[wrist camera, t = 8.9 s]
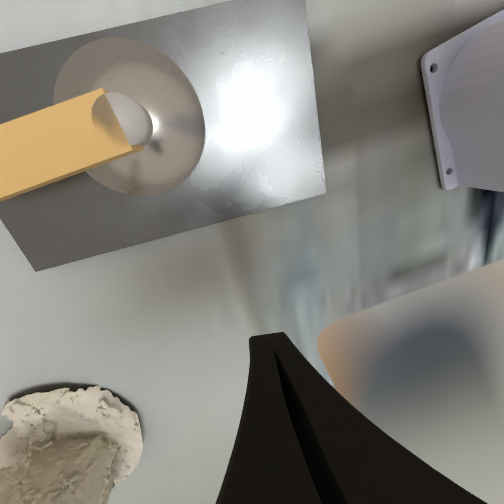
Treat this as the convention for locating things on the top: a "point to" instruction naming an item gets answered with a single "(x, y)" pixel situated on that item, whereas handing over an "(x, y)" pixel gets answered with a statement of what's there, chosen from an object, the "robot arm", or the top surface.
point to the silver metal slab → (173, 126)
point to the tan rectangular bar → (69, 140)
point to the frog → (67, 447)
